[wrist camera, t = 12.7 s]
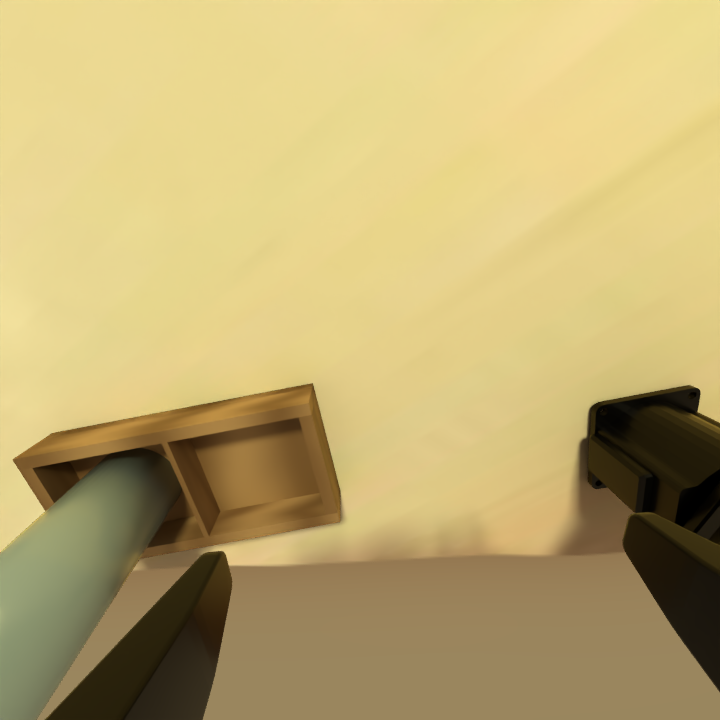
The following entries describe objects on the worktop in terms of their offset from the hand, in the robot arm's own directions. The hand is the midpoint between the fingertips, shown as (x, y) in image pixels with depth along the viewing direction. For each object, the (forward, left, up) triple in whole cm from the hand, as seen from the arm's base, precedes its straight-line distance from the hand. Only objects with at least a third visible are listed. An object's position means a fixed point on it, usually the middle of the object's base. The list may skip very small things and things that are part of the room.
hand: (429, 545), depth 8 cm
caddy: (+12, +5, -13) cm, 18 cm away
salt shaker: (+16, +5, -12) cm, 21 cm away
